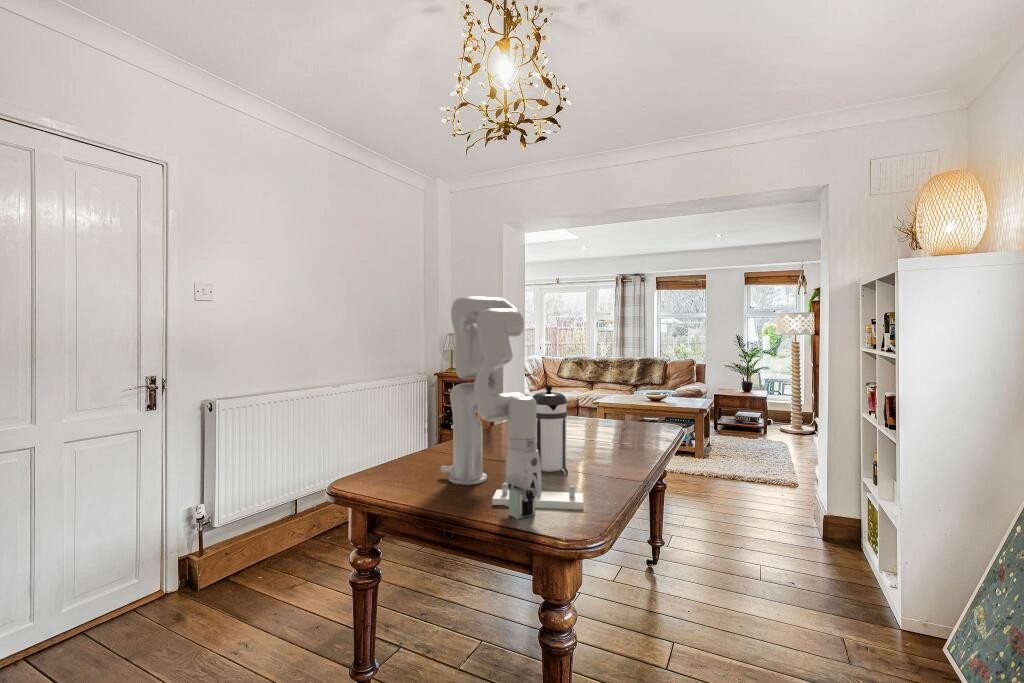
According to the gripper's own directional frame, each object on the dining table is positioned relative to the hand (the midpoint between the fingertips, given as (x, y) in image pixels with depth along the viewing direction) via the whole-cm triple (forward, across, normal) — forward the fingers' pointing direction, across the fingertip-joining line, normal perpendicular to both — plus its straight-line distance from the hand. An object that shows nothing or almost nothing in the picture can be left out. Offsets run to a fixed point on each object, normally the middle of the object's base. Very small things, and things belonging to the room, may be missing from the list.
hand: (522, 512), depth 132 cm
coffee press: (+1, +28, -33) cm, 43 cm away
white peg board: (+1, +5, -10) cm, 11 cm away
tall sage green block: (+1, 0, 0) cm, 1 cm away
